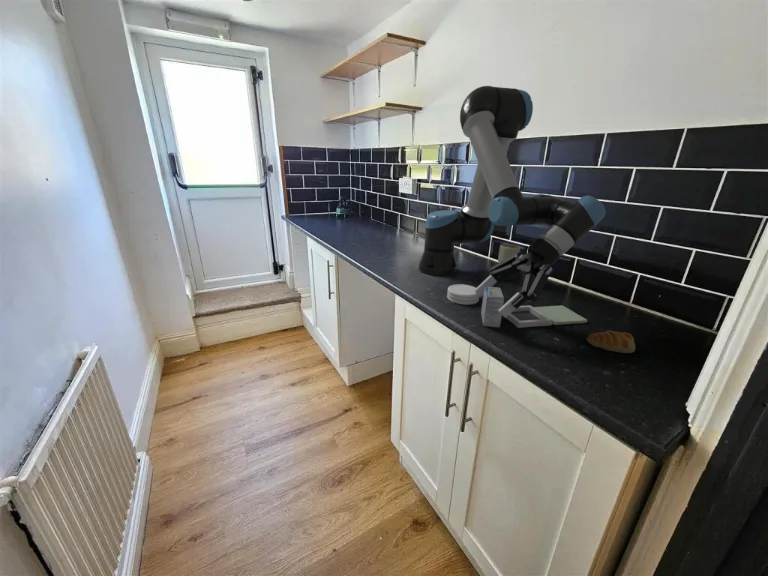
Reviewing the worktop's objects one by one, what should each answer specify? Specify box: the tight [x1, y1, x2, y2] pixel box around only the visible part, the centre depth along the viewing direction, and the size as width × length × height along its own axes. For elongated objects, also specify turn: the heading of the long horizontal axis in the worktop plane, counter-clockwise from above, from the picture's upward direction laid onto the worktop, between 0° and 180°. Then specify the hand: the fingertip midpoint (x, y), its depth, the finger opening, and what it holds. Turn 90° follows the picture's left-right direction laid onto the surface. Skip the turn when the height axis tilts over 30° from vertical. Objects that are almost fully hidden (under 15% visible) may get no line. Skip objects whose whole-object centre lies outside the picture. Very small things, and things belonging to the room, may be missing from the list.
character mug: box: [497, 243, 521, 281], centre depth 121 cm, size 11×7×13 cm, turn 13°
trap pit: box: [505, 304, 553, 329], centre depth 91 cm, size 10×10×2 cm
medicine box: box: [480, 286, 505, 328], centre depth 88 cm, size 8×4×9 cm, turn 168°
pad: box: [533, 305, 588, 326], centre depth 93 cm, size 10×10×1 cm
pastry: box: [585, 330, 636, 354], centre depth 78 cm, size 9×7×4 cm
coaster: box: [446, 283, 480, 306], centre depth 104 cm, size 10×10×4 cm
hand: (488, 303), depth 87 cm, fingers open, 13 cm apart
